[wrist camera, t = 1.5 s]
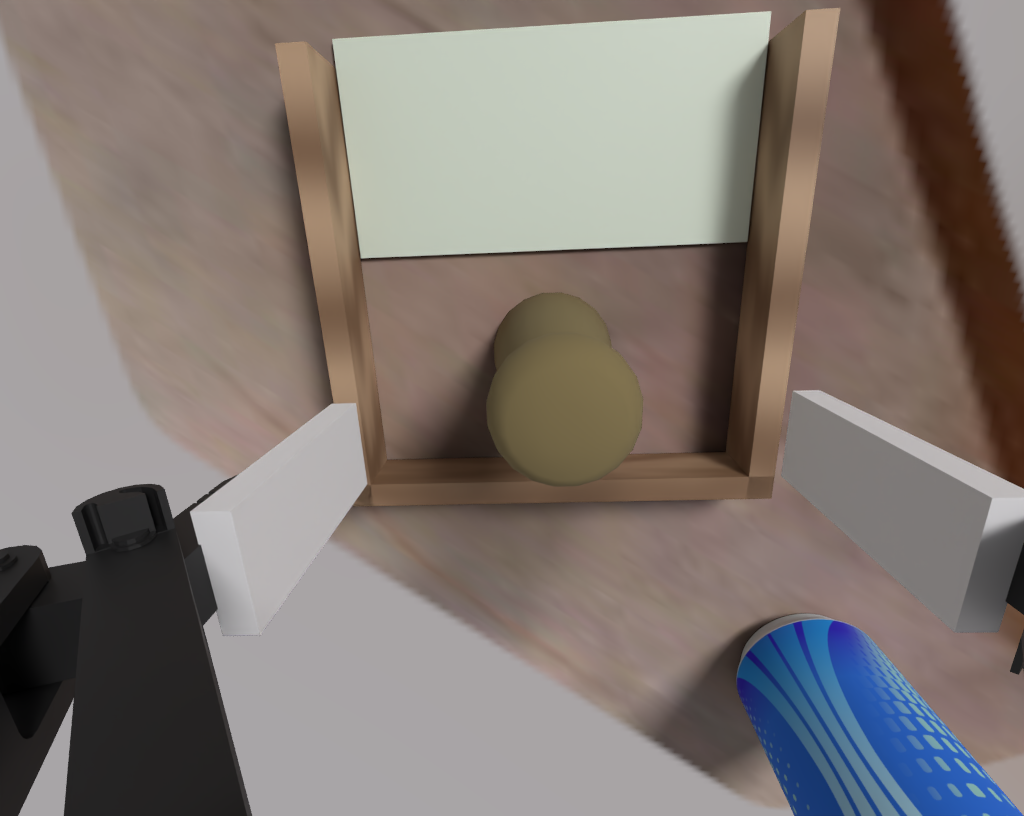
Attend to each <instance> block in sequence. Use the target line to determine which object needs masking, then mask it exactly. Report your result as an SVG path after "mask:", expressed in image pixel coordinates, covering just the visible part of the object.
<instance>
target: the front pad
mask: <svg viewBox="0 0 1024 816" xmlns="http://www.w3.org/2000/svg"><path fill="white" fill-rule="evenodd" d="M770 19H771V11H769V12H753V13H737V14H722V15H706V16H690V17H674V18H658V19H642V20H627V21H611V22H595V23H579V24H563V25H547V26H532V27H516V28H500V29H484V30H468V31H452V32H436V33H421V34H405V35H389V36H373V37H357V38H341V39H332V41H333V49H334V57H335V64H336V72H337V79H338V87H339V95H340V102H341V110H342V117H343V125H344V133H345V140H346V148H347V155H348V163H349V171H350V178H351V186H352V193H353V201H354V209H355V216H356V224H357V231H358V239H359V247H360V254H361V258H380V257H403V256H427V255H451V254H474V253H498V252H522V251H545V250H569V249H593V248H616V247H640V246H664V245H687V244H711V243H735V242H747V240H748V231H749V221H750V211H751V202H752V192H753V182H754V173H755V163H756V154H757V144H758V134H759V125H760V115H761V106H762V96H763V86H764V77H765V67H766V58H767V48H768V38H769V29H770Z"/></svg>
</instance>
